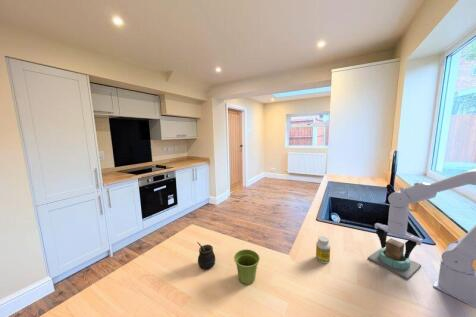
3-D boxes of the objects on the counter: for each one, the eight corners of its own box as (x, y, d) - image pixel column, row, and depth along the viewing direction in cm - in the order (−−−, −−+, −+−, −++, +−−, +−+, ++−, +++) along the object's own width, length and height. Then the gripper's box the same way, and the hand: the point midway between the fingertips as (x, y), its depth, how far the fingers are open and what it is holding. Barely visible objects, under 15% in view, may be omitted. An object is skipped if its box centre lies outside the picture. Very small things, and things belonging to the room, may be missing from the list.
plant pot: (252, 266, 74) (252, 246, 72) (264, 284, 65) (264, 262, 64) (231, 273, 70) (230, 252, 69) (240, 292, 62) (239, 269, 60)
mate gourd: (212, 274, 70) (211, 250, 69) (194, 271, 72) (192, 248, 70) (218, 261, 77) (216, 239, 76) (201, 259, 79) (200, 238, 77)
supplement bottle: (324, 254, 80) (325, 234, 78) (332, 263, 74) (333, 241, 73) (313, 256, 79) (314, 235, 78) (320, 264, 74) (321, 243, 72)
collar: (421, 266, 71) (422, 258, 71) (407, 280, 65) (408, 271, 65) (382, 248, 83) (383, 242, 82) (367, 258, 76) (368, 251, 76)
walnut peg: (402, 261, 73) (404, 243, 72) (397, 266, 71) (399, 247, 70) (389, 255, 77) (390, 238, 76) (384, 259, 75) (386, 241, 74)
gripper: (426, 225, 67) (422, 258, 69) (381, 211, 80) (378, 240, 82) (419, 230, 64) (415, 265, 66) (373, 215, 76) (370, 245, 78)
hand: (394, 252), depth 73 cm, fingers open, 7 cm apart
